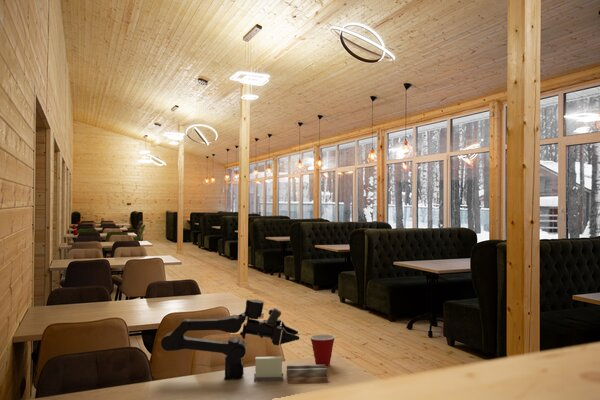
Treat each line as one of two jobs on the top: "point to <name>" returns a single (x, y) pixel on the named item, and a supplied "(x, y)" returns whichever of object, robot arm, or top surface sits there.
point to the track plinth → (306, 373)
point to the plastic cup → (322, 348)
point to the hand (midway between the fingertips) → (298, 335)
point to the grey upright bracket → (268, 378)
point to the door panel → (268, 367)
